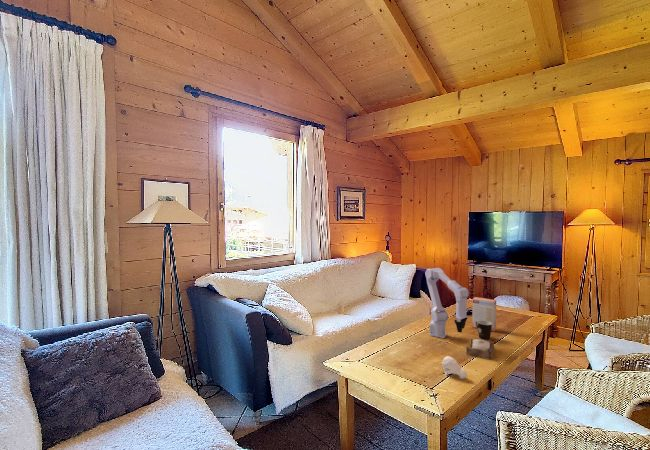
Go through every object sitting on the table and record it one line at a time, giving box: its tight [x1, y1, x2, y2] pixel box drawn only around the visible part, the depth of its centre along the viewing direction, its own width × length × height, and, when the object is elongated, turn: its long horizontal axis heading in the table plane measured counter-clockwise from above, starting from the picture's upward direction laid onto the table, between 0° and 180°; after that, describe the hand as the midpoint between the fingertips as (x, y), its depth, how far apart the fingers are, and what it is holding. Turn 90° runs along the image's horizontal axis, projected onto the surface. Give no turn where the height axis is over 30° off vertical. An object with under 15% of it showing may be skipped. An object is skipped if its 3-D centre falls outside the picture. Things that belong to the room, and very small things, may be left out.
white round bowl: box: [471, 338, 490, 351], centre depth 193 cm, size 9×9×6 cm
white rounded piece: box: [441, 355, 468, 380], centre depth 166 cm, size 6×8×12 cm
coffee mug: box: [476, 321, 492, 341], centre depth 216 cm, size 12×9×10 cm
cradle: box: [465, 338, 495, 360], centre depth 193 cm, size 13×15×5 cm
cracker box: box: [471, 296, 497, 333], centre depth 231 cm, size 14×6×21 cm, turn 49°
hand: (460, 330), depth 203 cm, fingers open, 7 cm apart
